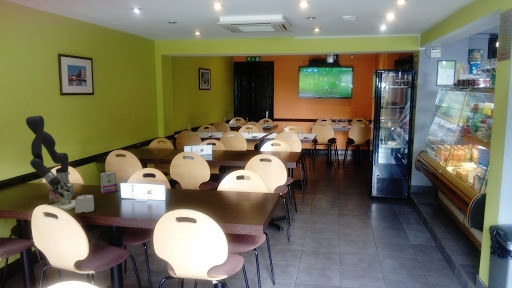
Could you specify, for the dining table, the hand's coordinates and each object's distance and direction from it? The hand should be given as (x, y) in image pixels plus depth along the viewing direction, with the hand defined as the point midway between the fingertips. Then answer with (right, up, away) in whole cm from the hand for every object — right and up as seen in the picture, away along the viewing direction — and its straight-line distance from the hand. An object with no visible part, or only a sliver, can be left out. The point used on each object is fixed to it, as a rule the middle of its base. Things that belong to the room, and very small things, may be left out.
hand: (67, 195), depth 306 cm
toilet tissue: (+18, -9, -13) cm, 24 cm away
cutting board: (-1, -8, +1) cm, 8 cm away
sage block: (-1, -6, +1) cm, 6 cm away
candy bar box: (+16, -3, +41) cm, 44 cm away
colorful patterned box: (-14, -5, +22) cm, 27 cm away
